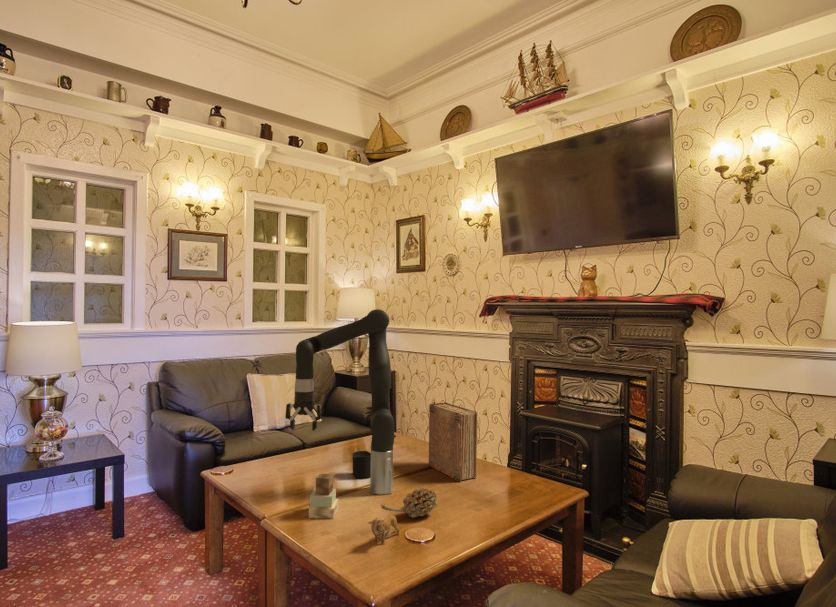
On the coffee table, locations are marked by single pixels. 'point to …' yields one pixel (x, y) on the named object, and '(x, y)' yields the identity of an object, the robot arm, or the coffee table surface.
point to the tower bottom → (324, 511)
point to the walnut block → (324, 484)
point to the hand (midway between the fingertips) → (303, 429)
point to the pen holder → (361, 464)
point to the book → (453, 440)
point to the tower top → (322, 499)
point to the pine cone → (417, 503)
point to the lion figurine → (383, 527)
